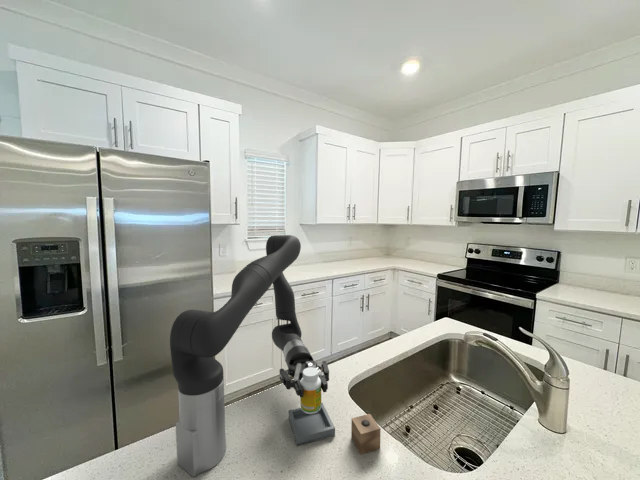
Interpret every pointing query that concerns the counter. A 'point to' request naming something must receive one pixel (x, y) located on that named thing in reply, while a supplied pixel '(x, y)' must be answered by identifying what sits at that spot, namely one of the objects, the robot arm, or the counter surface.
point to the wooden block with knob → (365, 433)
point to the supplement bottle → (311, 391)
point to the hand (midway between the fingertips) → (313, 391)
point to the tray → (311, 425)
